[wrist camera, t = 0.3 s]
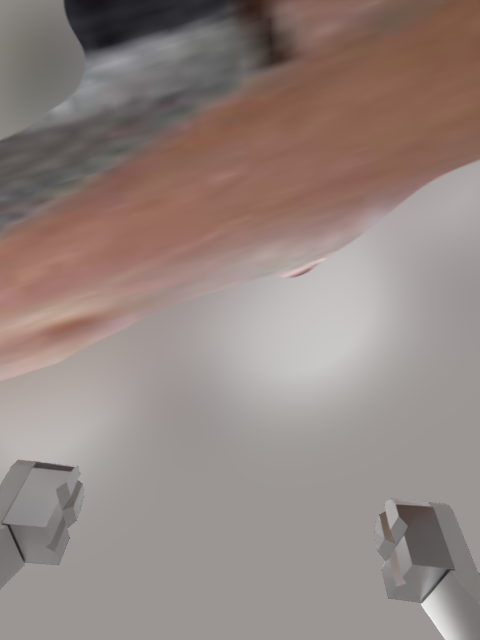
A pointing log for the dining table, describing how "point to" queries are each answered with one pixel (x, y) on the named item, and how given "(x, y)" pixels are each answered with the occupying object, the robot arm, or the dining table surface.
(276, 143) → the dining table surface
